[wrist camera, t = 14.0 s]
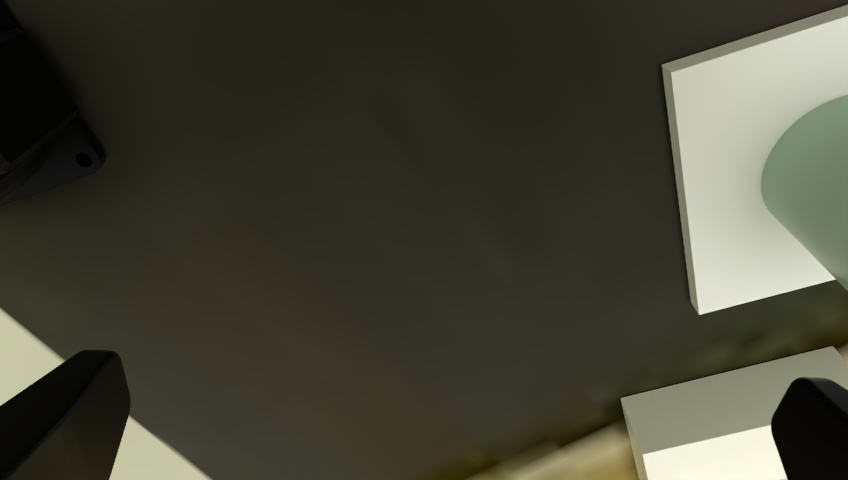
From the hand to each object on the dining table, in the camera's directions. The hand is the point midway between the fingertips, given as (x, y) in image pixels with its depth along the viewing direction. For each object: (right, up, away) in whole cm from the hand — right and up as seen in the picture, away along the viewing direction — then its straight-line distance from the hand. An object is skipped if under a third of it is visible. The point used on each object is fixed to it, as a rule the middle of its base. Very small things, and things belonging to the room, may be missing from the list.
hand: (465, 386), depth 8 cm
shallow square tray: (+14, -7, +21) cm, 26 cm away
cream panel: (+13, +5, +13) cm, 19 cm away
